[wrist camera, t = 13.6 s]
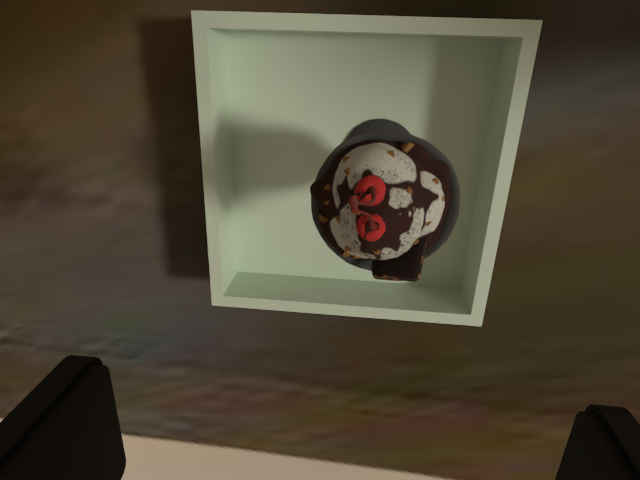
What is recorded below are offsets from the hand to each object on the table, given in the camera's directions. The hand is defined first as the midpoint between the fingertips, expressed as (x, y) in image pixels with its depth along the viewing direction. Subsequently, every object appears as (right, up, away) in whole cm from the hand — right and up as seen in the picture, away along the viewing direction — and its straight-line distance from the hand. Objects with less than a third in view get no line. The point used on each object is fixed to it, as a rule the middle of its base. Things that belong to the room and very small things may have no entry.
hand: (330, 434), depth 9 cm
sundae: (+4, +9, +21) cm, 23 cm away
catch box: (+2, +9, +22) cm, 24 cm away
